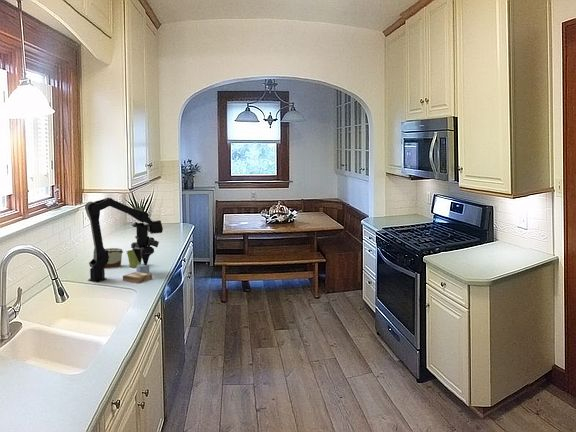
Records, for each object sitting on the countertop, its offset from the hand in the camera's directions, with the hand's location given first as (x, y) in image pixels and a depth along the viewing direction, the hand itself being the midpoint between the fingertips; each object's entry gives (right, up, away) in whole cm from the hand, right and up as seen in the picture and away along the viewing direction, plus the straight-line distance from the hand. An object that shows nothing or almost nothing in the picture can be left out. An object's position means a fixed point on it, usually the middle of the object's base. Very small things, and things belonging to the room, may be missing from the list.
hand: (142, 263), depth 268 cm
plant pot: (-9, -3, +18) cm, 21 cm away
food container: (-22, -3, +17) cm, 28 cm away
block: (0, -6, +1) cm, 6 cm away
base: (0, -7, -10) cm, 12 cm away
